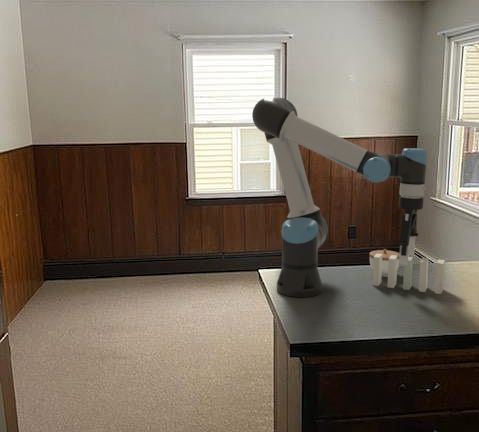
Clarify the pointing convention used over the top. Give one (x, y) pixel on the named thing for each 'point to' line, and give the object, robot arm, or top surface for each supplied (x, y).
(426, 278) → the tile
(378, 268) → the tile
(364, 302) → the top surface
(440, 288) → the tile
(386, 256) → the lidded jar
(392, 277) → the tile
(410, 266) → the tile
